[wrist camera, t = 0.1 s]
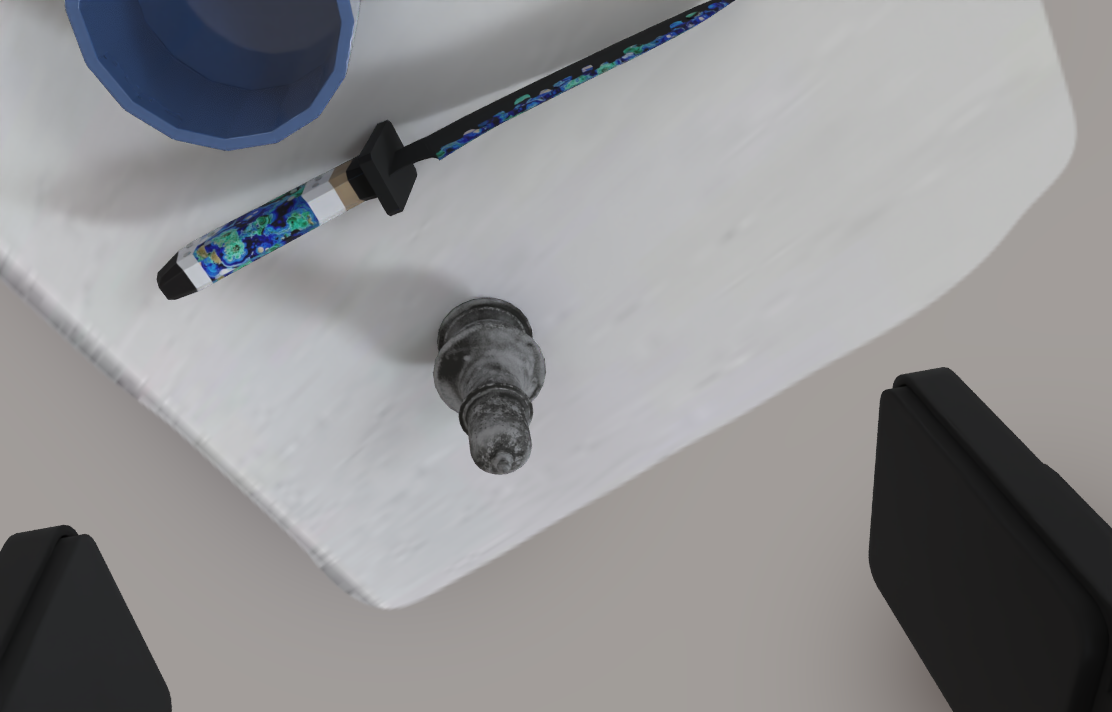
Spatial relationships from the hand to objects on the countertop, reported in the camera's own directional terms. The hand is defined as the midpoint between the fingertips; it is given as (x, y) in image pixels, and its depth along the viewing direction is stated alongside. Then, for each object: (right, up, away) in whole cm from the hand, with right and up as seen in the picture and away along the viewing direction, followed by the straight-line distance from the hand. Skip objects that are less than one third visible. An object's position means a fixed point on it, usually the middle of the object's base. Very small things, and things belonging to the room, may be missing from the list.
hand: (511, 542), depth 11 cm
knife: (-4, +14, +35) cm, 37 cm away
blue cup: (-13, +19, +30) cm, 38 cm away
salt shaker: (-3, +3, +41) cm, 41 cm away
